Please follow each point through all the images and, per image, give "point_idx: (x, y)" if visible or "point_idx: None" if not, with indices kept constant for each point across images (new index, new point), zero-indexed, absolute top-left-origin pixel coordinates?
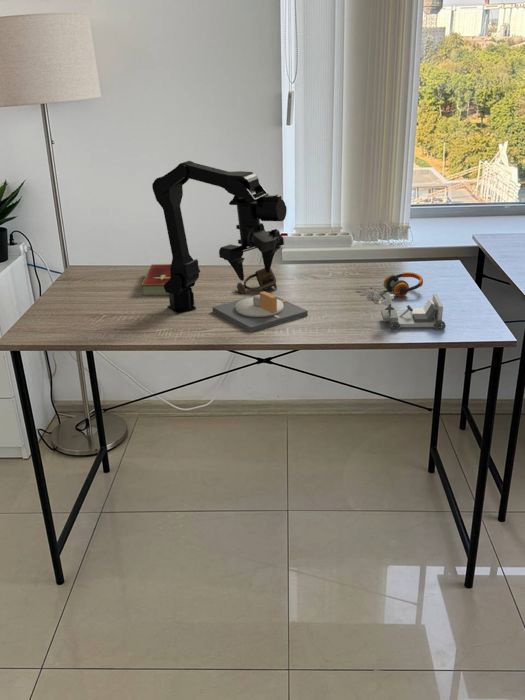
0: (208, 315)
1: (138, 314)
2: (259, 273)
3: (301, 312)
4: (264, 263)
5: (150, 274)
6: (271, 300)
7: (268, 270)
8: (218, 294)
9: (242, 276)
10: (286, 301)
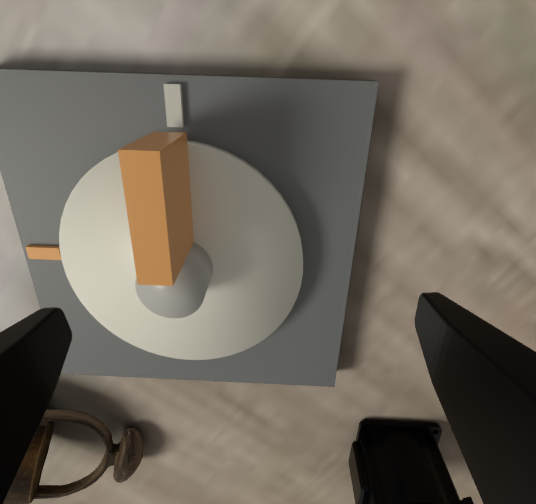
0: (368, 355)
1: None
2: (25, 482)
3: (16, 70)
4: (27, 431)
5: None
6: (166, 153)
7: (47, 319)
8: (214, 463)
9: (471, 318)
10: (27, 246)
